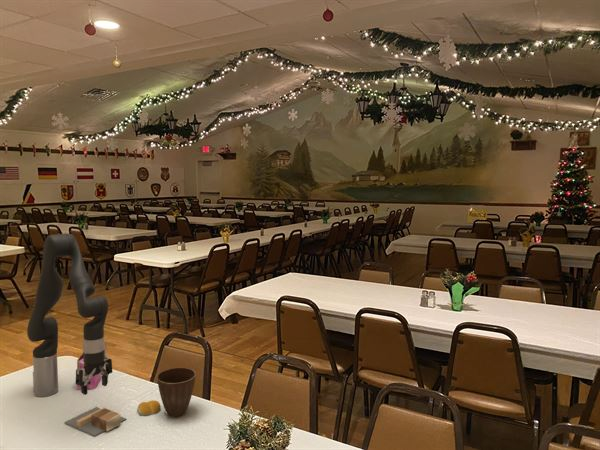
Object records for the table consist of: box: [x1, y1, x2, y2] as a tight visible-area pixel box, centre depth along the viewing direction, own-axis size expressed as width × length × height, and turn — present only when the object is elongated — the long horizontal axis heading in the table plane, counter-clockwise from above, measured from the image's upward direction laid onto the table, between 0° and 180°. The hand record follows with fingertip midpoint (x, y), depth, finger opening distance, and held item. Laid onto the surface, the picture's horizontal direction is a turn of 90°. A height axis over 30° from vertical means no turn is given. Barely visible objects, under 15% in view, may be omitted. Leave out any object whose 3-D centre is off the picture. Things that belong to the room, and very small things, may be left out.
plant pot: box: [156, 367, 196, 418], centre depth 183 cm, size 15×15×16 cm
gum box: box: [76, 342, 107, 391], centre depth 213 cm, size 24×8×14 cm, turn 11°
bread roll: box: [136, 399, 162, 417], centre depth 185 cm, size 8×9×4 cm
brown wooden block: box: [91, 407, 122, 432], centre depth 173 cm, size 4×6×9 cm
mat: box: [63, 406, 127, 438], centre depth 176 cm, size 18×14×2 cm
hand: (94, 389), depth 175 cm, fingers open, 8 cm apart
